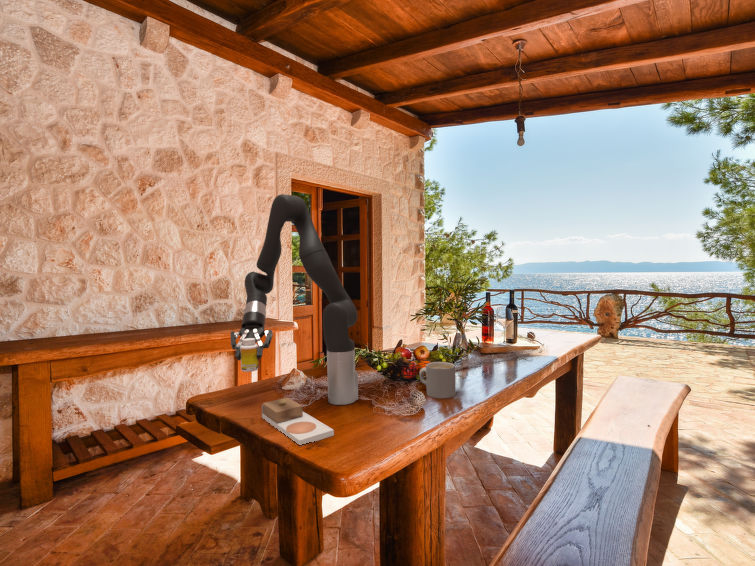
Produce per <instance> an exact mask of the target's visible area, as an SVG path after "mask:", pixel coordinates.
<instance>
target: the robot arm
mask: <svg viewBox="0 0 755 566" xmlns="http://www.w3.org/2000/svg"><path fill="white" fill-rule="evenodd" d="M286 222H290V223H292V224H293V226H294V228H295V230H296V232H297V234H298V238H299V244H298V256H299V260H300V262H301V264H302V266H303V268H304V270H305V272H306V274H307V276H308V277H309V278H310V280H312V281H313V283H314V285H316V286H317V287H318V288H319V289H320V290H321V291H322V292H323V293H324V294H325V296H326V297H327V300H328V302H329V304H327V305H326V306H325V308H324V309H323V312H322V329H323V330H322V331H323V341H324V343H325V346H326V363H327V364H326V367H327V368H326V369H327V373H326V374H327V400H328V403H329V404H331V405H335V406H337V405H338V406H342V405H343V406H344V405H350V404H353V403H354V402H356V401H357V400H358V401H359V380H358V379H359V377H358V376H359V375H358V371H357V370H356V360H355V357H356V355H355V354H356V353H355V351H356V350H355V341H354V340H353V339H352V338H350V336H349V328H350V327H352V326H354V325H355V324H356V323H357V321H358V316H359V315H358V310H357V308H356V306H355V304H354V302H353V301H352V299H351V297H350V296H349V294H348V293H347V291H346V289H345V288H344V286H343V284H342V281H341V280H340V278H339V276H338V274H337V271H336V270H335V268H334V266H333V264H332V261H331V258H330V257H329V254H328V252H327V251H326V248H325V247H324V244H323V243H322V240H321V238H320V236H319V234H318V232H317V230H316V227H315V224H314V222H313V219H312V218H311V214H310V212H309V208H308V206H307V204H306V202H305V201H304V200H303V198H301V197H300V196H297V195H292V194H291V195H289V194H279V195H277V196H275V198H274V199H273V201H272V204H271V207H270V213H269V217H268V221H267V228H266V233H265V237H264V242H263V245H262V248H261V250H260V253H259V255H258V258H257V261H256V268H257V269H258V270H259V271H261V272H262V273H261V272H256V271H250V272H248V273H247V274H246V276H245V278H244V288H245V293H246V302H245V307H244V310H243V314H242V315H243V316H242V322H241V327H240V329H239V331H234V330H232V331H230V347H231V348H232V350H235V353H234V357H235V359H236V360H237V361H241V357H240V346H241V345H243V339H246V338H255V344H257V345H258V349H257V359H259V360H261V358H262V357H263V352H264V349H269V348H270V345H271V342H272V339H273V336H274V334H273V330H272V329H268V330H265V324H266V318H267V315H266V314H267V303H268V301H267V300H268V296H267V294H270V293H271V292H272V291H273V289H274V285H275V284H274V283H275V282H274V280H275V279H274V278H275V271H276V268H277V265H278V263H279V261H280V258H281V255H282V242H281V233H282V230H283V227H284V226H285V224H286ZM264 273H265V274H264ZM264 336H265V340H264V342H262V340H261V339H262V338H263V337H264ZM239 337H240V338H239ZM238 338H239V341H238V343H237V340H238Z"/></svg>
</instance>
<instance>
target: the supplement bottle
mask: <svg viewBox="0 0 755 566" xmlns="http://www.w3.org/2000/svg"><path fill="white" fill-rule="evenodd" d="M258 347H259V346H258V344H257V343H255V338H246V339H243V345H241V346H240V357H241V359H240V370H241V372H243V373H244V372H245V373H251V372H256V371H258V370H259V367H260V366H259V365H260V363H259V361H260V359H257V349H258Z"/></svg>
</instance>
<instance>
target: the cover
mask: <svg viewBox="0 0 755 566" xmlns="http://www.w3.org/2000/svg"><path fill="white" fill-rule="evenodd" d="M262 405H263V413H264V414H265V415H266V416H268V417H269V418H270V419H272V420H273V421H274V422H276V423H279V422H283V421H286V420H290V419H294V418H297V417H301V416H303V412H304V411H303V405H302V404H300V403H298V402H296V401H295V400H294V399H292V398H290V397H284V398H279V399H274V400H271V401H266V402H263V403H262Z"/></svg>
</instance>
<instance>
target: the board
mask: <svg viewBox="0 0 755 566" xmlns="http://www.w3.org/2000/svg"><path fill="white" fill-rule="evenodd" d="M261 418H262V420H264V419H265V420H264V421H266V422H267V423H268V424H269V423H270V425H271V426H272V427H273V426H274V427H273V428H275V429H276V428H277V429H278V430H277V429H276V430H277V431H279V432H280V431H281V432H282V434H283V433H284V434H285V435H286V436H285V435H284V434H283V435H284V436H285V437H287V436H288V437H289V438H291V439H292V440H293V441H295V442H296V443H297V444H299V445H302V444H306V443H309V442H312V443H314V441H315V442H318V441H321V440H324V439H327V438H331V437H334V435H335V430H334V429H333V428H331V427H330V426H328V425H327V424H325V423H323V422H321V421H319V420H318V419H316V418H315V417H314V416H311V415H310V414H308V413H306V412H305V411H303V416H301V417H297V418H294V419H290V420H286V421H283V422H279V423H276V422H274V421H273V420H272V419H270V418H269V417H268V416H266V415H265V414H264V413H263V404H261ZM281 432H280V433H281ZM288 437H287V438H288ZM289 438H288V439H289ZM292 440H291V441H292ZM293 441H292V442H293ZM296 443H295V444H296ZM297 444H296V445H297ZM309 444H310V443H309ZM306 445H307V444H306ZM302 446H303V445H302Z"/></svg>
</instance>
